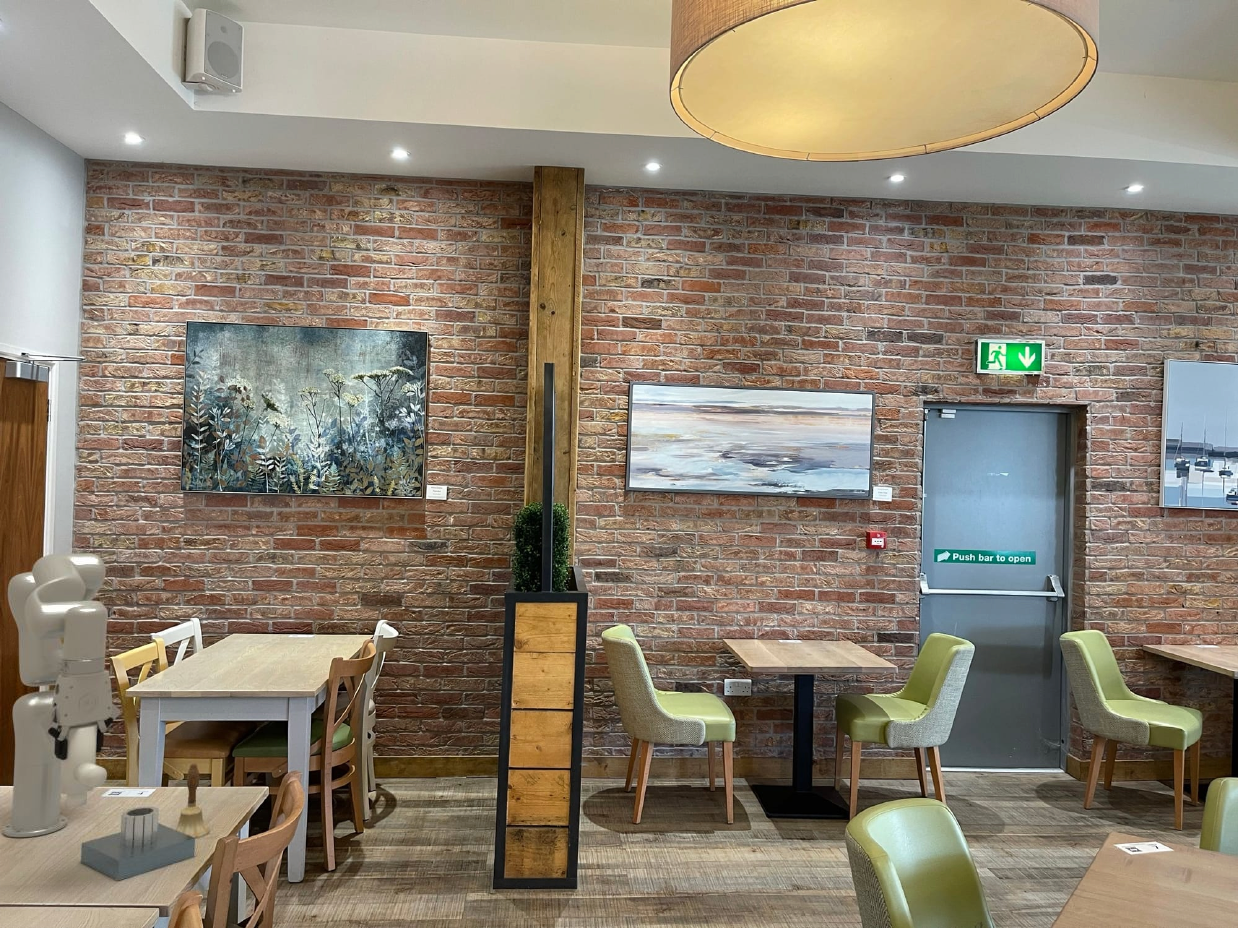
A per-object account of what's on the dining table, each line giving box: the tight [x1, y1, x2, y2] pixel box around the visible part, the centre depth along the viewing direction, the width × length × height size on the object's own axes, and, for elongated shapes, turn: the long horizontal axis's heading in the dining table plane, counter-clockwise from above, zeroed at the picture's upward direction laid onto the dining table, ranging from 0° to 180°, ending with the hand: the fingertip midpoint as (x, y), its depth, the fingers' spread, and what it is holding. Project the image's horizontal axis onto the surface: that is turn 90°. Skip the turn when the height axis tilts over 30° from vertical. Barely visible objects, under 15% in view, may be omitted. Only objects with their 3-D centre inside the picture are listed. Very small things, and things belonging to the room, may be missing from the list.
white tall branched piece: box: [60, 722, 108, 808], centre depth 181 cm, size 11×6×16 cm, turn 55°
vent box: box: [80, 806, 196, 882], centre depth 192 cm, size 16×16×10 cm
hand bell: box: [173, 763, 211, 839], centre depth 207 cm, size 8×8×16 cm
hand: (78, 754), depth 182 cm, fingers closed on white tall branched piece, 6 cm apart
